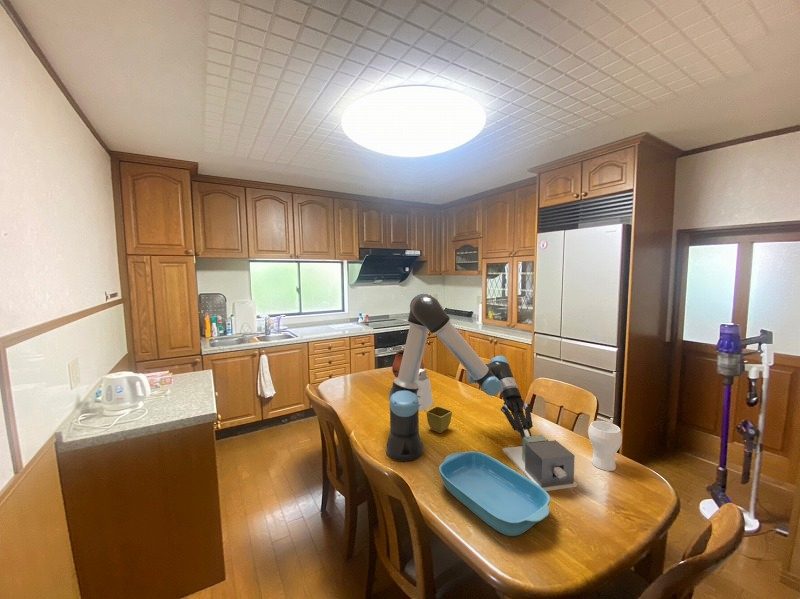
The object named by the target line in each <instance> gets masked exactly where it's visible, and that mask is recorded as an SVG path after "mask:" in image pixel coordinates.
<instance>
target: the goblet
mask: <svg viewBox="0 0 800 599" xmlns="http://www.w3.org/2000/svg"><path fill="white" fill-rule="evenodd" d="M403 353H404V350H403V349H402V350H398V351H396V352H395V357H394V358H393V363H392V367H391V369H392V374H393V375H394V377H395V378H397V377H398V375H399V370H400V366H401V362H402V358H403ZM420 369H424V370H425V365H424V362H423V360H422V361H421V365H420ZM419 375H420V376H421V372H420V373H419Z"/></svg>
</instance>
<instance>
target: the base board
mask: <svg viewBox="0 0 800 599" xmlns="http://www.w3.org/2000/svg"><path fill="white" fill-rule="evenodd" d="M522 446H523V445H522ZM522 446H521V445H520V446H519V445H518V446H512V447H503V448H502V451H503V452H502V453H504V454H505V455H506V456H507V457H508V458H509V459H510V461H511V462H512V463H513V464H514V465H515V467H517V468H518V470H520V472H521V474H522V475H523V476H525V477H526V478H528V479H529V480H531V481H533V482H534V483H536V484H537V482H536V481H535V480H534V479H533V478H532V477H531V476H530V475H529V474H528V473H527V472H526V470H525V462H524V461H523V460H522ZM537 485H538V484H537ZM577 487H578V483H577V482H576V481H574V483H573V484H566V485H558V486H551V487H544V488H543V489H544V490H545V491H546V492H549V491H556V490H563V489H565V490H566V489H572V488H577Z"/></svg>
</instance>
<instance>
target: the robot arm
mask: <svg viewBox="0 0 800 599" xmlns="http://www.w3.org/2000/svg"><path fill="white" fill-rule="evenodd" d="M407 317H408V318H407V323H408V325H409V328H408V332H407V337H406V342H405V345H404V353H403V358H402V362H401V366H400V370H399V375H398V377H397V378H396V377H395V378H394V379H393V381H392V384H391V385H392V386H391V388H390V390H389V394H388V399H389V402H388V403H389V404H388V405H389V425H390V426H389V428H390V430H389V431H390V432H389V437H388V439H387V442H386V447H385V448H386V449H385V452H386V455H387V456H388V457H389V458H390V459H391V460H394V461H398V462H412V461H416V460H417V459H419V458H420V457H422V456H423V453H424V443H423V442H422V440H421V436H420V432H419V431H420V430H419V427H420V426H419V425H420V424H419V423H420V422H419V420H420V419H419V415H420V414H419V413H420V411H419V409H418V408H419V406H420V405H419V401H418V397H417V393H418V388H419V385H418V383H417V378H418V374H419V369H420V365H421V361H423V356H424V354H425V347H426V343H427V339H428V336H429V332H430V333H431V334H433V335H436V336H437V338H438V339H439V340H440V341H441V342H442V344H443V346H445V347H446V348H447V349H448V351H449V352H450V353H451V354H452V355H453V356H454V358H455V359H456V360H457V361H458V363H460V365H461V366H462V367H463V368H464V370H466V371H465V373H466V378H467V381H468V383H469V384H476V385H477V384H478V386H479V387H480V388H481V390H482V391H483V392H484V393H485V394H486V395H488V396H490V397H495V396H496V395H499V394H500V393H501V394H500V395H501V397H502V399H503V400H502V401H504V402H503V403H504V404H503V405H502V407H501V408H500V411H501V412H502V413H503V414H504V416H505V417H506V419H507V421H508V422H509V424H510V426H511V428H512V430H513V431H514V432H515V431H516V432H518V433H519V435H520V438H521V440H522V441H523V437H528V436H533V435H532V433H531V429H532V428H533V427H534V424H533V419H532V413H531V412H532V411H531V406H532V405H531V403H526V402H525V401H524V400H523V399H522V395H521V391H520V390H519V388H518V384H517V383H516V379H515V377H514V375H513V371H512V369H511V366H510V363H509V362H508V359H507V357H505V356H503V355H496V356H494V357H492V358H491V359H490V361H489V363H485V362H484V360H483V359H481V357H480V356H479V355H478V353H477V352H476V351H475V350H474V349H473V348H472V346H470V344H469V343H468V342H467V341H466V339H465V338H464V337H463V336H462V334H461V333H460V332H459V331H458V329H457V328H456V327H455V326H454V325H453V324H452V322H451V317H450V316H449V315H448V314H447V312H446V311H445V310H444V308H443V306H442V305H441V303H440V301H438V299H437V298H435V297H434V296H433V295H431V294H428V293H419V294H417V295H415V296H414V297H413V298H412V299H411V301H410V303H409V313H408V316H407ZM419 389H420V388H419Z"/></svg>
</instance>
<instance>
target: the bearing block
mask: <svg viewBox="0 0 800 599" xmlns="http://www.w3.org/2000/svg"><path fill="white" fill-rule="evenodd" d="M553 466H559V467H560V468H561V469H563V470H564V471H565V472H566V473H567V477H566V479H564V480H560V479H559V478H558V477H557V476H556V475H555V474H554V473H553ZM525 470H526V472H527V473H528V474H529V475H530V476H531V477H532V478H533V479H534V480H535V481H536V482H537V484H538V485H539V486H540V487H542V488H544V487H551V486H558V485H566V484H573V483H574V482H575V481H574V480H575V478H574V477H575V454H573V453H572V451H570V450H569V449H567V448H566V447H565V446H563V445H562V444H561V443H560V442H558V441H557V440H556V439H555V440H548V441H544V442H535V443H526V445H525Z"/></svg>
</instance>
